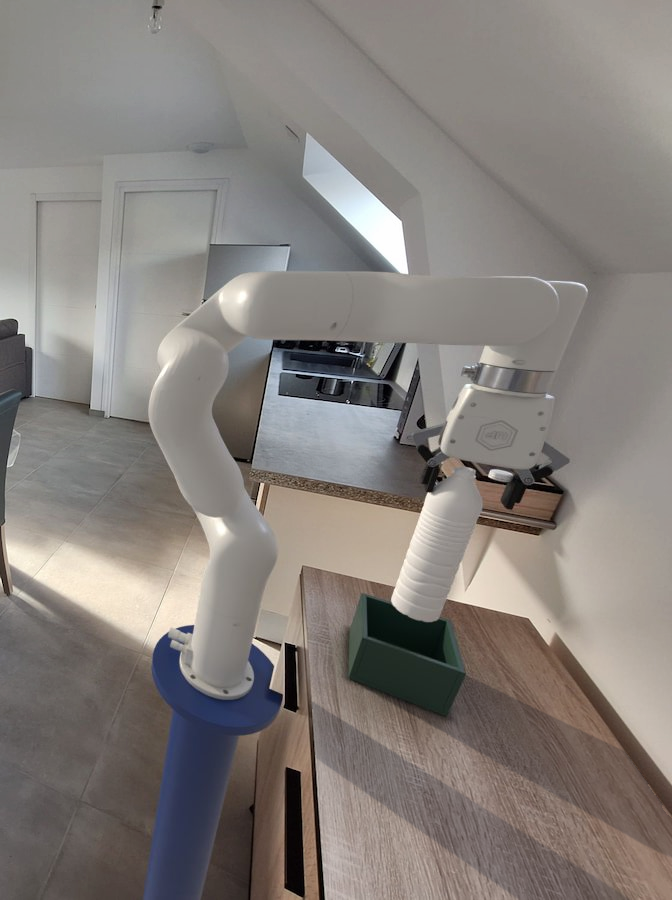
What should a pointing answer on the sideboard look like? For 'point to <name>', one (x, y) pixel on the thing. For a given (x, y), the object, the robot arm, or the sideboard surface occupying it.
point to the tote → (405, 655)
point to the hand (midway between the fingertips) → (465, 497)
